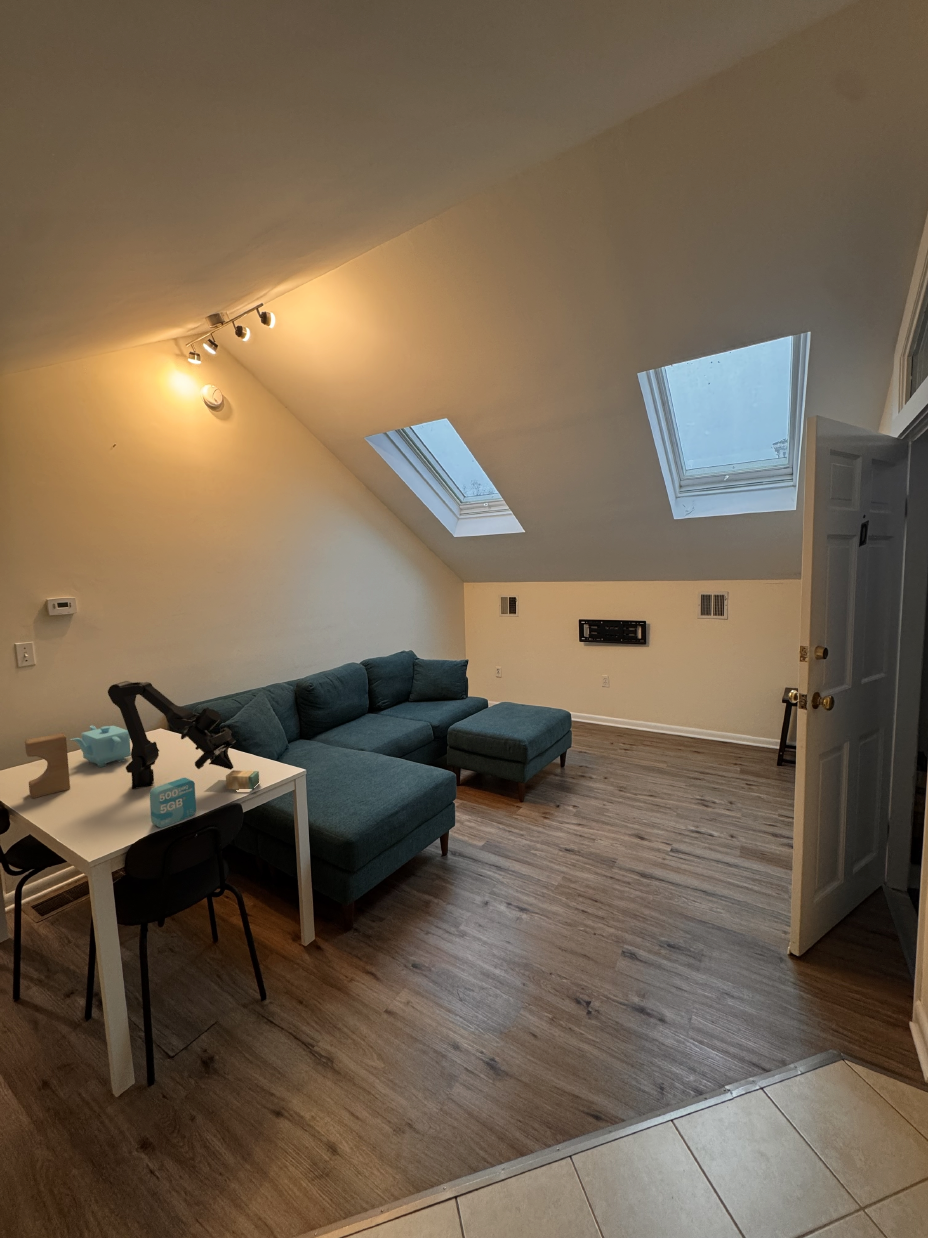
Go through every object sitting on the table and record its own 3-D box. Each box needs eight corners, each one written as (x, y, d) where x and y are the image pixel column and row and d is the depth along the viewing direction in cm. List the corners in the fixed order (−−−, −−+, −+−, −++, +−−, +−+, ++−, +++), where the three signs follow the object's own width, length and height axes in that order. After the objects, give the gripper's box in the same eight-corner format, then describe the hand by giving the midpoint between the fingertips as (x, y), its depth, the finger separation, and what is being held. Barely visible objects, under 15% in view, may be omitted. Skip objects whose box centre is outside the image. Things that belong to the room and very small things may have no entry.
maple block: (225, 775, 185) (252, 776, 185) (232, 770, 190) (258, 771, 190) (226, 789, 186) (252, 790, 185) (233, 783, 191) (259, 784, 190)
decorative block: (30, 799, 179) (25, 743, 177) (29, 793, 183) (24, 739, 181) (70, 789, 186) (66, 736, 184) (68, 784, 190) (64, 732, 188)
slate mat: (203, 792, 184) (203, 791, 184) (219, 781, 194) (218, 780, 194) (249, 794, 183) (249, 793, 183) (262, 782, 193) (262, 781, 193)
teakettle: (122, 767, 207) (120, 732, 205) (69, 771, 202) (66, 735, 201) (140, 751, 225) (138, 718, 224) (92, 754, 221) (90, 721, 219)
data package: (158, 829, 158) (155, 792, 157) (151, 825, 161) (148, 789, 159) (196, 814, 168) (194, 779, 167) (189, 810, 171) (187, 776, 169)
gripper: (201, 732, 177) (233, 763, 177) (229, 716, 195) (258, 745, 196) (180, 753, 178) (212, 784, 179) (210, 736, 197) (239, 764, 197)
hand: (232, 768), depth 188 cm, fingers closed
